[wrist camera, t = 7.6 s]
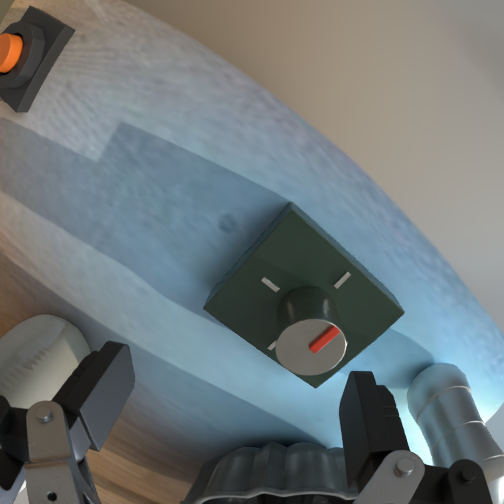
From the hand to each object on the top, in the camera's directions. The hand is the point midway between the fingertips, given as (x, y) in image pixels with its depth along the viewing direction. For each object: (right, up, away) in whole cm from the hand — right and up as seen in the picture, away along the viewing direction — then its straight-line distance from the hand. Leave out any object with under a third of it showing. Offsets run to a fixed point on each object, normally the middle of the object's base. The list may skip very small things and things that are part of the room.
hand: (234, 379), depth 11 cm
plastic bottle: (+19, -9, +18) cm, 28 cm away
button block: (-21, +23, +10) cm, 33 cm away
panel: (+5, +1, +15) cm, 16 cm away
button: (-21, +22, +7) cm, 31 cm away
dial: (+5, 0, +13) cm, 13 cm away
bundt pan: (+5, -25, +25) cm, 36 cm away
